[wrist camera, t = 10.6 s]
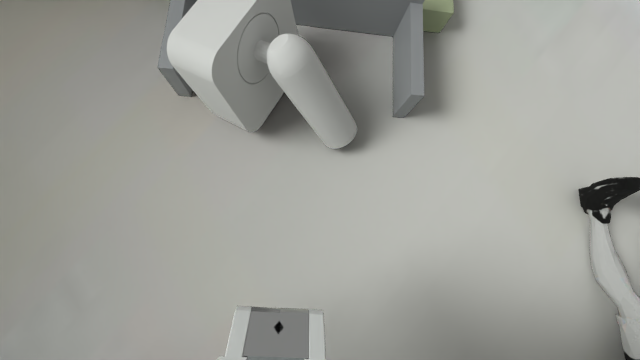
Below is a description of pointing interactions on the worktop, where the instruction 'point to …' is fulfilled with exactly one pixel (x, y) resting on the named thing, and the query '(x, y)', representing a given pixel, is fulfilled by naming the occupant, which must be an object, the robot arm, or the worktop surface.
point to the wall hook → (256, 66)
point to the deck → (358, 16)
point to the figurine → (613, 256)
